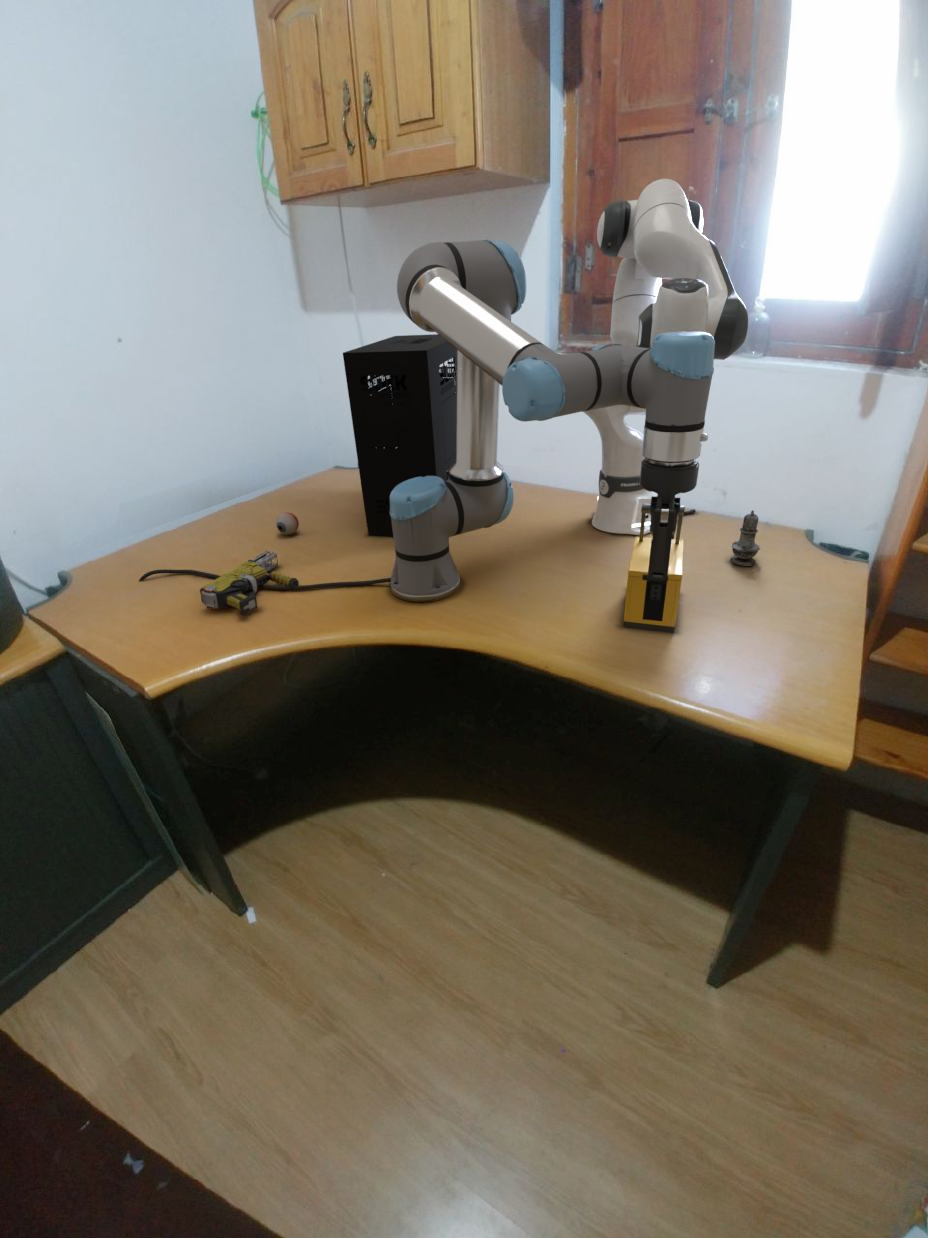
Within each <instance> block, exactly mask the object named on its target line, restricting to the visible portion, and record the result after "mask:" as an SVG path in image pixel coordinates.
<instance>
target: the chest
mask: <svg viewBox="0 0 928 1238" xmlns="http://www.w3.org/2000/svg"><path fill="white" fill-rule="evenodd" d="M646 582H647V580H642V577H636V576H628V575H627V583H626V592H625V604H624V614H623V625H622V626H623V627H624V628H630V629H631V628H632V629H640V630H648V631H656V632H657V631H659V632H667V633H675V630H676V622H677V616H678V608H679V601H680V595H681V594H680V593H681V587H682V580H681V581H680V580H669V579H668V581H667V587H666V595H665V603H664V611H663V619H662V621H653V620H644V619H643V611H644V601H645V592H646Z"/></svg>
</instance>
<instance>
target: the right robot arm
mask: <svg viewBox="0 0 928 1238" xmlns="http://www.w3.org/2000/svg"><path fill="white" fill-rule="evenodd" d="M703 212H704V211H703V208H702V206H701V204H700V203H698V201H695V200H691V199H687V196H686V194H685V191H684V190H683V188H682V186H681V185H680V184H679V183H678V182H677V181H675V180H673V179H670V178H660V179H657V180H654V181H652V182H650V183H649V184H648V185H646V187H645V188H644V189H643V190H642V191H641V193H640V195H639V197H638V199H631V200H625V199H619V200H616V201H612V202H609V203H608V204H607V205H606V206H605V207H604V208H603V210H602V213H601V214H600V217H599V220H598V221H597V222H598V223H597V227H596V238H597V239H596V240H597V244H598V249H599V251H600V253H601V254H602V255H603V256H605V257H609V258H612V259H613V258H614V259H617V257H618V258H623V259H621V261H620V263H619V265H618V270H617V273H616V277H615V283H614V288H613V294H612V305H611V318H610V334H609V335H610V340H611V342H612V344H621V345H622V346H631V347H641V348H652V343H653V339H654V338H655V337H656V336H657V335H658V334H662V333H668V332H706V333H709V334H711V335H712V336H713V338H714V340H715V349H714V360H721V361H724V360H726V359H728V358H729V357H730V356H732V355H733V354H734V353H736V352H737V351H738V350H739V349H740V348H741V347H742V346H743V344H744V343H745V341H746V339H747V335H748V328H749V314H748V309H747V307H746V305H745V303H744V302H743V300H742V299H741V298H740V297H739V295H738V294H737V292H736V289H735V288H734V285H733V283H732V279H731V277H730V275H729V272H728V269H727V267H726V265H725V263H724V259H723V257H722V255H721V253H720V251H719V249H718V246H717V245H716V243H715V242H714V241H713V240H711V239H710V238H708V237H706V236H705V235H704V234H702V233H703V228H704V215H703V214H704V213H703ZM663 280H666V281H664V282H663ZM583 414H584V415H586V416H588V418H589V419H590V420H591V421H592V422H593V424H594V425H595V427H596V429H597V431H598V434H599V436H600V437H599V438H600V443H601V468H600V470H599V474H598V492H599V493H598V496H597V498H596V499H597V502H596V507H595V511H594V514H593V517H592V520H591V525H592V526H593V527H594V528H595V529H597V530H599V531H601V532H605V533H611V534H623V535H625V534H626V535H632V536H633V535H634V536H640V527H641V518H642V513H641V509H642V504H651V498H652V496H653V497H657V493H655V492H653V491H652V492H650V491H647V490H645V489H643V488H642V487H641V486H640V472H641V462H642V461H643V460H644V458H645V457H644V456H643V455H642V446H643V434H644V433H643V432H641V431H640V430H638V429H636V428H634V427H632V426H630V425H629V424H627V422H626V421H625V417H626V416H646V409H644V408H639V407H633V406H627V405H615V406H610V407H605V408H599V409H594V410H589V411H583ZM680 506H682V504H680ZM696 511H697V510H696V509H695V508H694V509H690V510H687V511H684V515H683V516H687V515H688V516H689V515H691V514H695V513H696ZM650 522H651V515H650V514H649V513H646V516H645V526H644V535H646V534H650Z"/></svg>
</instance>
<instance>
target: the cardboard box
mask: <svg viewBox="0 0 928 1238" xmlns="http://www.w3.org/2000/svg"><path fill="white" fill-rule="evenodd" d="M342 358H343V365H344V373H345V380H346V387H347V394H348V399H349V400H348V401H349V409H350V414H351V423H352V431H353V436H354V444H355V451H356V457H357V459H356V460H357V465H358V472H359V479H360V486H361V494H362V500H363V501H362V502H363V508H364V515H365V523H366V529H367V535H368V536H381V537H382V536H384V537H393V529H392V521H391V516H390V494H391V492H392V490H393V489H394V488H395V487H396V486H397V485H398V484H400V483H402V482H404V481H406V480H409V479H412V478H416V477H425V476H437V477H440V478H442V479H443V480H444V481H448V479H449V466H450V465H451V464H452V463H453V462H454V461H455V460H456V348H455V347H453V346H452V345H451V344H450V343H449V342H447V341H446V340H445V339H444V338H442V337H441V336H440V335H439V334H437V333H436V334H435V333H434V334H410V335H409V334H407V335H394V336H391V337H390V336H389V337H387V338H384V339H381V340H378V341H375V342H372V343H369V344H366V345H362V346H360V347H357V348H353V349H350V350H347V351H343V352H342ZM446 362H447V364H445V363H446ZM441 365H442V366H441Z"/></svg>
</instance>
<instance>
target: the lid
mask: <svg viewBox="0 0 928 1238" xmlns="http://www.w3.org/2000/svg"><path fill="white" fill-rule="evenodd" d="M650 505H651V504H642V509H641V513H642V518H641V527H640V535H639V536H635V538H634V543H633V546H632V552H631V556H630V562H629V567H628V571H627V577H628V576H636V577H642V576H643V575H647V574H648V569H649V560H650V551H651V541H652V538H653V537H647V536H645V534H644V526H645V516H646V513H649V514H650ZM685 510H686V507H685V505H681V506H680V512H679V516H678V517H677V524H676V532H675V533H676V534H675V538H674V539H672V540H671V549H670V558H669V567H668V579H669V580H680V581H681V582H682V581H683V571H684V570H683V566H684V544H685V543H684V539H680V538H681V532H682V524H683V517H684V516H685V515H684V512H685Z"/></svg>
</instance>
